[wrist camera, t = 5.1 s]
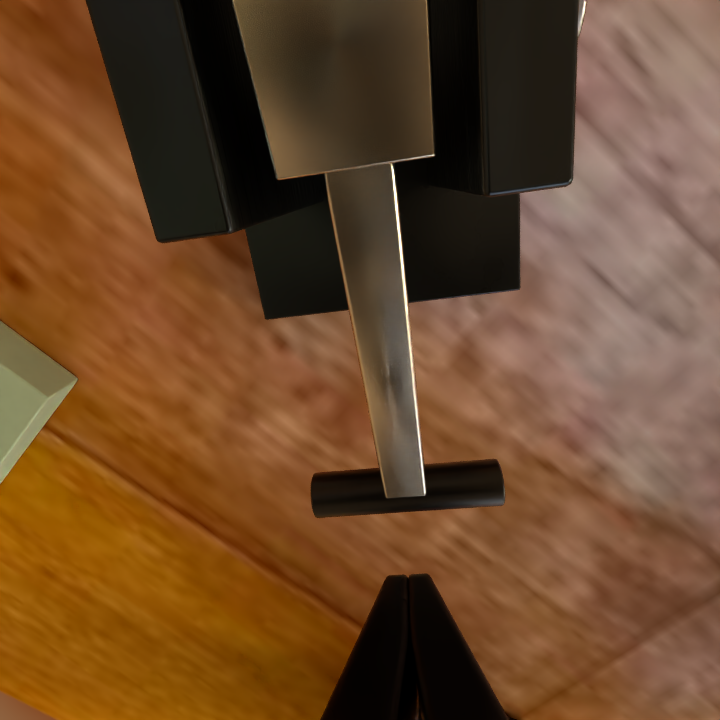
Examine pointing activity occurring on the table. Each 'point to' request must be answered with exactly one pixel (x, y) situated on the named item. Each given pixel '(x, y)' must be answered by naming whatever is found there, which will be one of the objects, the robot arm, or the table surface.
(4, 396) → the button box
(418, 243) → the bracket
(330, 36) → the lever
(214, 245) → the table surface
